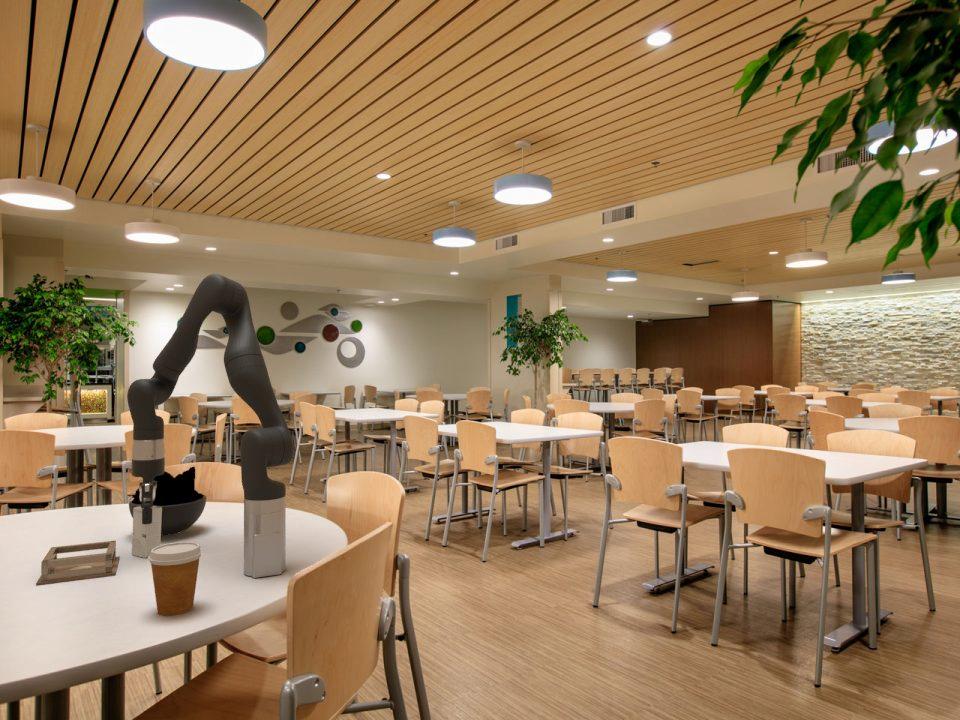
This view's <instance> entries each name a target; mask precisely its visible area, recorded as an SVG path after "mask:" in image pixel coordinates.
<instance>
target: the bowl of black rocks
mask: <svg viewBox="0 0 960 720" xmlns="http://www.w3.org/2000/svg"><path fill="white" fill-rule="evenodd" d="M154 477H155V479H154V481H157V489H156V495H155V500H154V501H153V506H157V507H162V520H161V536H173V535H177V534H179V533H181V532H184V531H186V530H188V529H189V528H190V527H192V526H193V525H194V524H195V523H196V522H197V521H199V518H200V517H201V516H202V514H203V512H204V509H205V508H206V504H207V495H205V494H203V493H200V492H198V490H196V488H195V485H196V484H195V483H196V482H195V480H196V467H195V466H191V467H189V468H188V469H187V470H185V471H182V473H178V474H177V475H176V476H175V477H174V475H172V474H171V473H170V472H168V471H165V472H164V474H163V475H160V476H154ZM144 503H145V502H144ZM139 506H141V501H140V491H139V487H138V488H137V489H136V490H135V494H134V497H133V499H132V500H130V501H129V503H128V509H129V513H130V515H131V517H132V519H133V508H134V507H139Z"/></svg>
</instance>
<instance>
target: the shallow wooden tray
mask: <svg viewBox="0 0 960 720" xmlns="http://www.w3.org/2000/svg"><path fill="white" fill-rule="evenodd" d="M116 546H117V540H110V541H109V540H107V541H100V542H88V543H80V544H70V545H62V546H61V545H59V546H51V547H50V549H49V550H48V551H47V553H46V555H45V556H44V558H43V560H42V561H41V565H40V566H41V570H40V571H41V573H40V574H41V575H40V576H41V581H49V580H57V579H65V578H73V577H81V576H89V575H97V574H105V573H112V569H113V566H114V562H115V558H116V557H117V556H116V555H117V554H116V553H117V551H116V550H117V548H116ZM102 549H103V550H104V549H107V550H106V552H103V553H94V554H85V555H76V556H67V557H59V558H58V554H68V553H75V552H78V553H79V552H85V551H93V550H102ZM102 561H106V566H101V567H92V568H84V569H76V570H68V571H59V572H53V571H54V569H55V567H60V566H68V565H77V564H85V563H94V562H102Z"/></svg>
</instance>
